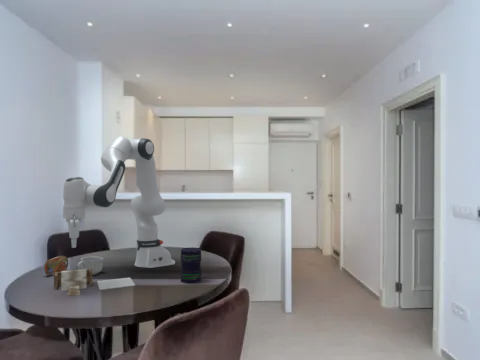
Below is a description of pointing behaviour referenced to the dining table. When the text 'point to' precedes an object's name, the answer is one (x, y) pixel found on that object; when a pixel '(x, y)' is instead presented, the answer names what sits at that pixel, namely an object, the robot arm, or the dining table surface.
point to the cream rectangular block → (73, 279)
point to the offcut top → (74, 288)
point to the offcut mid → (73, 292)
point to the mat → (115, 283)
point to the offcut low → (73, 294)
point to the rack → (58, 278)
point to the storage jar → (190, 265)
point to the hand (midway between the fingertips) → (73, 245)
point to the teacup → (91, 264)
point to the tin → (56, 265)
